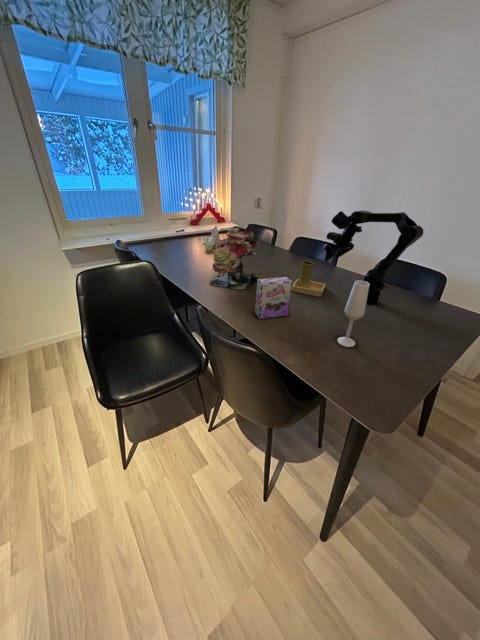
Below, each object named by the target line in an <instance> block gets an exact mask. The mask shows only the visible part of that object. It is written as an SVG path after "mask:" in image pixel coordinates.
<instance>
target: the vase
mask: <svg viewBox="0 0 480 640" xmlns="http://www.w3.org/2000/svg"><path fill="white" fill-rule="evenodd" d="M313 265H314V263H313V262H312V261H309V260H304V261H302V263H301V269H300V276H299V279H300V280H299V285H298V287H302V288H308V289H310V281H312V279H311V278H312V271H313Z"/></svg>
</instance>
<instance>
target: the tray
mask: <svg viewBox="0 0 480 640" xmlns="http://www.w3.org/2000/svg"><path fill="white" fill-rule="evenodd" d="M299 280H300V278H296V279H295V281H294V282H293V283H292V289H291V292H292V293H293V292H294V293H299V294H304V295H308V296H309V295H310V296H315V297H318V298H319V297H320V298H321V297H322V296H323V294H324V291H325V289H326V286H327V285H326V284H327V283H323V282H317V281H312V280H310V289H308V288H302V287H298V285H299Z"/></svg>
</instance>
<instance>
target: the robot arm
mask: <svg viewBox="0 0 480 640" xmlns="http://www.w3.org/2000/svg"><path fill="white" fill-rule="evenodd" d="M366 223H394V224H395V226H396V228H397V230H398V232H399V233H400V235H399V236H398V239H397V242H396V244H395V245H394V246H393V248H391V250H390V251H389V252H388V253H387V255H386V256H385V257H384V259H383V260H382V261H381V262H380V263H379V265H378V266H377V267H375V268H371V269H369V270H368V271H367V273H366V274H365V275H364V276H363V280H362V281H366V282H368V283H369V284H370V285H369V290H368V296H367V302H366V305H380V304H381V303H380V301H379V298H380V295H381V291H382V290H384V289H385V287H386V285H385V283H384V281H383V280H384V278H385V276H386V273H387V271H388V270H389V269H390V268H391V267H392V266H393V265H394V264H395V262H396V261H398V259H399V258H400V257H401V255H402V254H404V252H405V251H406V249H407V248H409V247H410V246H412V245H413V244H415V243H416V242H417V241H418V240H419V239H421V238H422V237H423V235H424V228H423V227H422V226H421V225H418V224H417V223H416V221H414V219H412V218H410V217H409V215H408V214H407V213H406V212H405V211H404V212H373V211H370V210H369V211H368V210H356V211H353V212H351V214H350V215H349V216H348V215H347V214H346V213H345V212H343V211H342V210H341V211H338V213H336V215H334V217H332V219H331V224H333V225H334V226H335V227H336V228H337V229H339V230H342V231H341V233H338V232H335V231H328V232H327V234H326V235H325V236H326V240H328V241H332V242H329V243H326V244H324V246H323V249H324V250H325V252H326V253H325V258H324V262H328V261H329V260H331V259H332V258H335V259H336V260H337V259H339V258H341V257H343V256H344V255H345V254H347V253H348V252H351V251H353V249H354V248H355V244H354V243H353V240H354V239H353V237H354V236H355V235H356V233H362V232H363V228H362V226H361V225H360V224H366ZM359 225H360V226H359Z"/></svg>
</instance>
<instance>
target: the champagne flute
mask: <svg viewBox="0 0 480 640" xmlns="http://www.w3.org/2000/svg"><path fill="white" fill-rule="evenodd" d="M369 285H370V284H369V283H368V282H366V281H363V280H362V279H361V280H359V279H357V280H355V281H354V283H353V285H352V288H351V291H350V293H349V296H348V299H347V301H346V304H345V307H344V314H345V316H346V317H347V318H348V319H349V322H348V323H349V324H348V327H347V331H346V335H345V336H339V337H337V339H336V342H337V343H338V344H339V345H341V346H343V347H346V348H347V347H348V348H352V347H353V348H354V346H356V341H355V340H354V339H352V338H351V337H350V335H351V333H352V329H353V324H354V321H357V320H359V319H361V318H362V317H363V316H365V312H366V306H367V303H366V302H367V296H368V290H369Z"/></svg>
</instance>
